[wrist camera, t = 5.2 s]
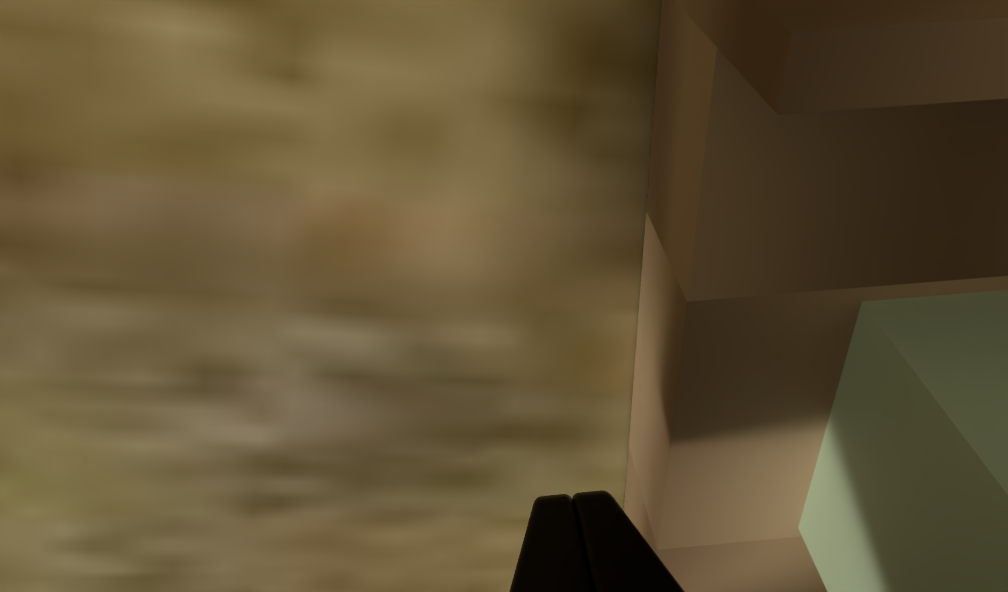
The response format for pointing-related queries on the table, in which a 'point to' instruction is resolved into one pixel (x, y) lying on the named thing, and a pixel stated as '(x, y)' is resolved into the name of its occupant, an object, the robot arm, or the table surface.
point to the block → (916, 451)
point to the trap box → (795, 247)
